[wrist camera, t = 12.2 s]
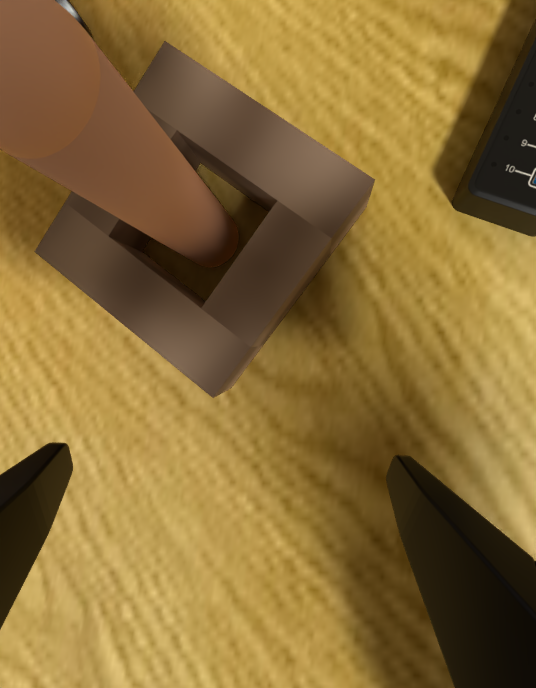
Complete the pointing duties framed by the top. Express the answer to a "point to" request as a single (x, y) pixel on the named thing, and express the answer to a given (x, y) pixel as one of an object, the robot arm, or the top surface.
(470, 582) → the robot arm
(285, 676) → the top surface
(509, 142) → the multiport hub
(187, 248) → the terracotta dowel
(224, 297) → the brown square frame
